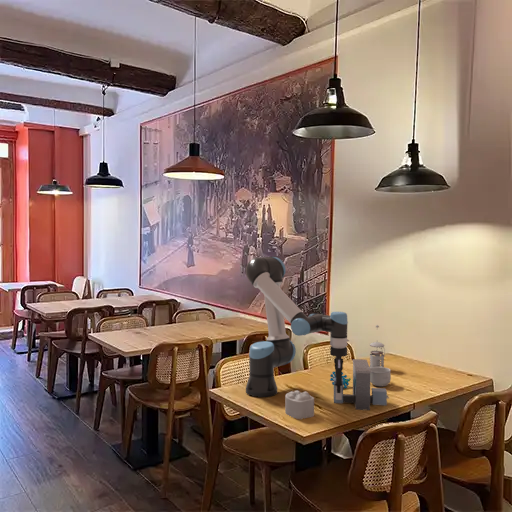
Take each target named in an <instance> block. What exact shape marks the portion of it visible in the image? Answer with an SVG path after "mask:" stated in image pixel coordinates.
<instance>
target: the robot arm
mask: <svg viewBox="0 0 512 512" xmlns="http://www.w3.org/2000/svg"><path fill="white" fill-rule="evenodd" d="M286 268H287V267H286V265H285V263H284V261H283V260H282V259H280V258H279V257H276V256H275V257H274V256H264V257H262V256H261V257H254V258H252V259H251V260H249V261H248V262H247V264H246V267H245V276H246V278H247V280H248V281H249V283H250V284H251V285H252V286H253V287H254V288H255V289H258V290H259V291H260V292H261V293H262V294H263V296H264V305H265V313H266V314H265V315H266V322H267V330H268V337H267V338H266V341H265V340H264V341H257V342H254V343H253V344H251V345H250V346H249V354H248V356H249V357H248V358H249V359H248V361H249V368H248V369H249V377H248V379H247V382H246V386H245V394H246V393H247V394H246V395H248V394H249V395H248V396H250V395H252V396H251V397H254V396H258V397H257V398H268V397H269V398H270V397H273V396H276V395H277V394H278V386H277V382H276V379H275V376H274V375H275V370H274V369H275V368H277V367H280V366H286V365H288V364H290V363H291V362H292V361H294V359H295V357H296V353H297V352H296V351H297V350H296V346H295V343H293V341H292V340H291V339H290V336H289V335H288V334H287V333H286V325H285V324H286V323H285V319H286V320H287V321H288V322H289V324H290V330H291V332H292V333H293V334H294V335H295V336H299V337H300V336H306V335H310V334H315V333H317V332H327V333H329V334H330V335H329V336H330V337H329V340H330V341H329V345H330V347H329V348H330V349H329V350H330V355H331V356H332V357H334V358H333V362H334V371H335V378H336V384H334V385H333V387H334V386H336V398H335V399H336V400H342V376H343V375H342V372H343V369H344V367H343V365H344V358H343V357H347V356H348V347H347V346H348V342H349V339H348V324H349V321H348V313H346V312H344V311H331V312H330V315H327V314H320V313H310V314H309V315H308V316H307V315H306V314H305V313H304V312H303V311H302V309H300V308H299V307H298V305H296V303H295V302H294V301H293V300H292V299H291V298H290V297H289V296H288V295H287V294H286V293H285V292H284V290H283V289H282V288H281V285H282V284H283V283H284V282H283V278H284V277H285V275H286V271H287V269H286Z"/></svg>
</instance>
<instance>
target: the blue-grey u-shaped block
mask: <svg viewBox="0 0 512 512" xmlns="http://www.w3.org/2000/svg"><path fill="white" fill-rule="evenodd" d="M333 382H334V384H336V378H334V381H333ZM335 398H336V386H334V385H333V403H334V404H343V403H344V404H345V403H347V404H348V403H349V404H355V395H353V393H352V394H351V393H350V394H349V393H344V385H343V378H342V400H336V399H335ZM387 400H390V396H389V395H388V392H387V388H384V387H383V388H382V387H371V394H370V405H374V406H388V403H387V402H388V401H387Z"/></svg>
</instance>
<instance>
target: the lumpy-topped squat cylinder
mask: <svg viewBox="0 0 512 512" xmlns="http://www.w3.org/2000/svg"><path fill="white" fill-rule="evenodd" d="M284 398H285V399H284V400H285V402H284V403H285V404H284V405H285V406H284V408H285V409H284V411H285V415H287V416H288V415H289V417H290V416H291V418H292V417H293V419H295V418H296V419H295V420H303V418H304V419H307V418H313V417H314V416H315V397H314V396H311V395H310V393H309V392H308V391H303V392H301V391H300V390H294V391H293V390H292V391H289V392H287V393H286V394H285V397H284Z"/></svg>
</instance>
